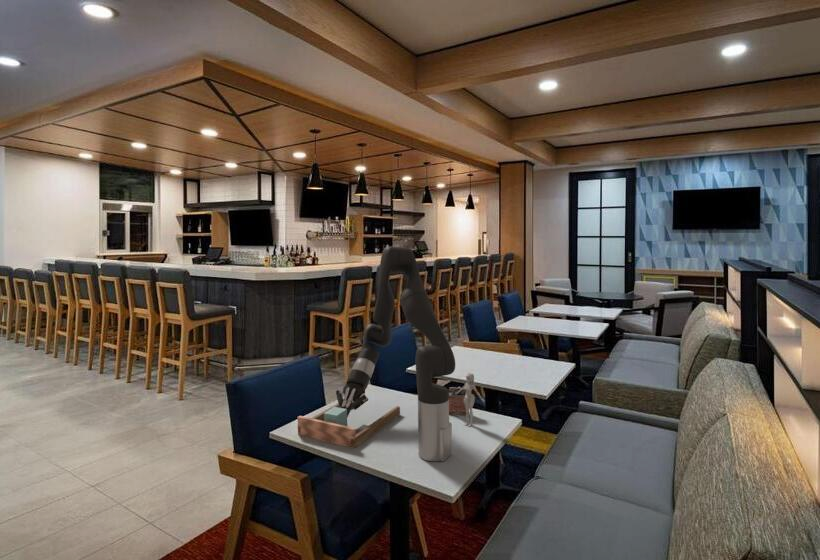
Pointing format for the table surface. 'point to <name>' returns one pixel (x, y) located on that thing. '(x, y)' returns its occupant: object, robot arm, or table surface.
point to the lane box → (341, 428)
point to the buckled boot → (457, 402)
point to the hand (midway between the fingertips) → (341, 419)
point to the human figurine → (469, 396)
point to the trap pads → (361, 428)
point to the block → (336, 416)
